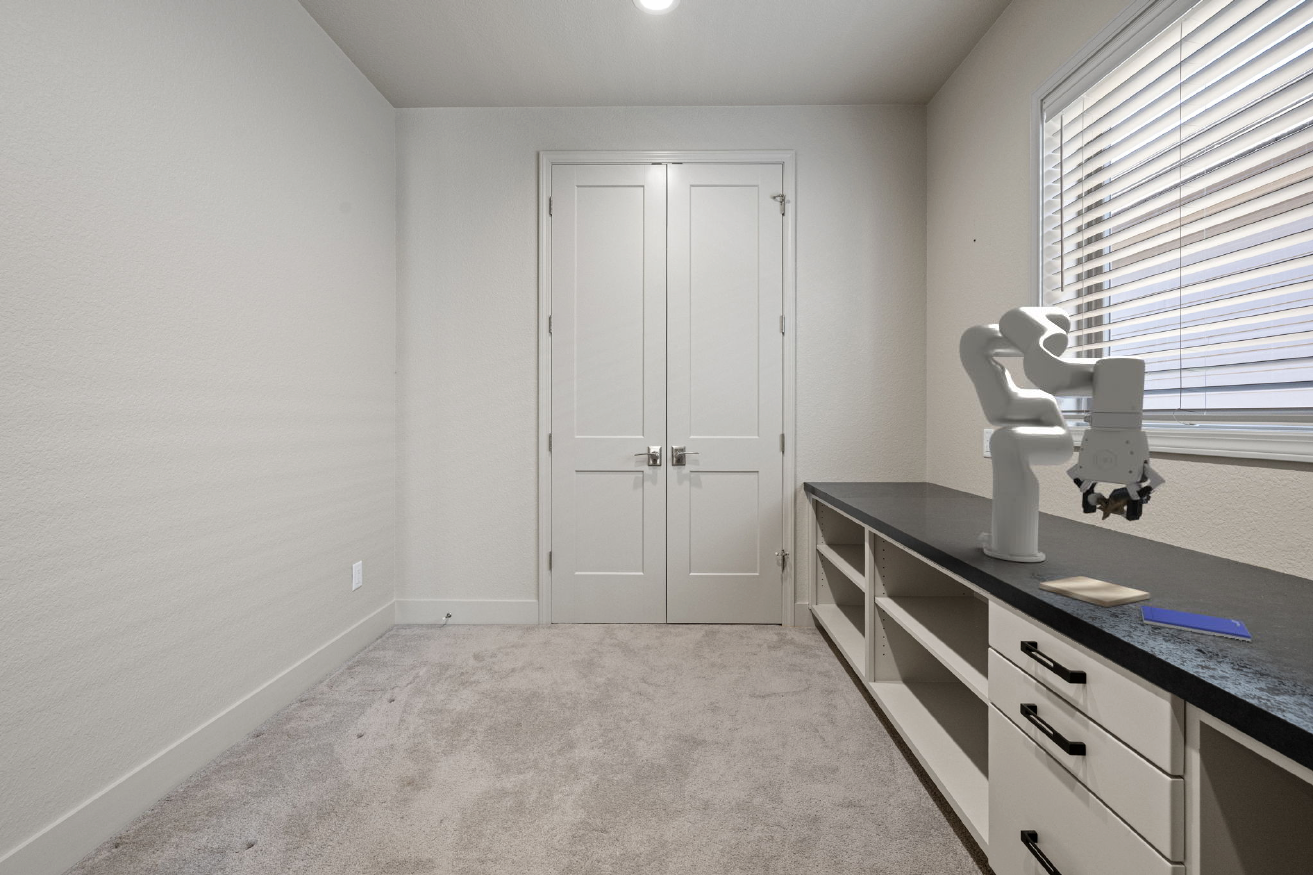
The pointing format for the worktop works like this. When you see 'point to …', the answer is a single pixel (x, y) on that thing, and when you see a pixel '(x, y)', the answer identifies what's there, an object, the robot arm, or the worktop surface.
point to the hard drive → (1195, 623)
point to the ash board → (1094, 591)
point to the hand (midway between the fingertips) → (1110, 515)
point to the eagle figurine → (1113, 502)
